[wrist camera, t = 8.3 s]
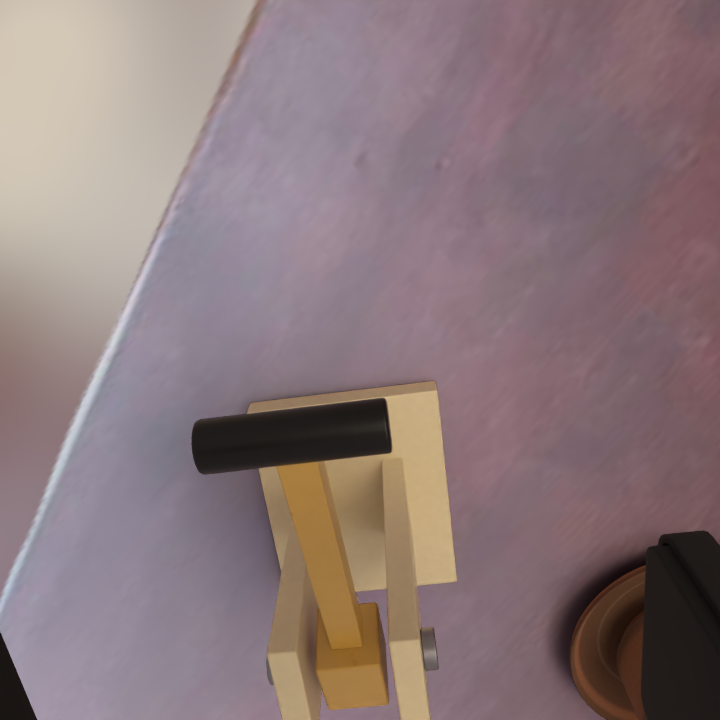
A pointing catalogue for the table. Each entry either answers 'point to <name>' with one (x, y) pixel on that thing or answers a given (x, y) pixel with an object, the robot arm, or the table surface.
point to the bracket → (368, 547)
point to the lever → (316, 524)
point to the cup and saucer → (612, 649)
